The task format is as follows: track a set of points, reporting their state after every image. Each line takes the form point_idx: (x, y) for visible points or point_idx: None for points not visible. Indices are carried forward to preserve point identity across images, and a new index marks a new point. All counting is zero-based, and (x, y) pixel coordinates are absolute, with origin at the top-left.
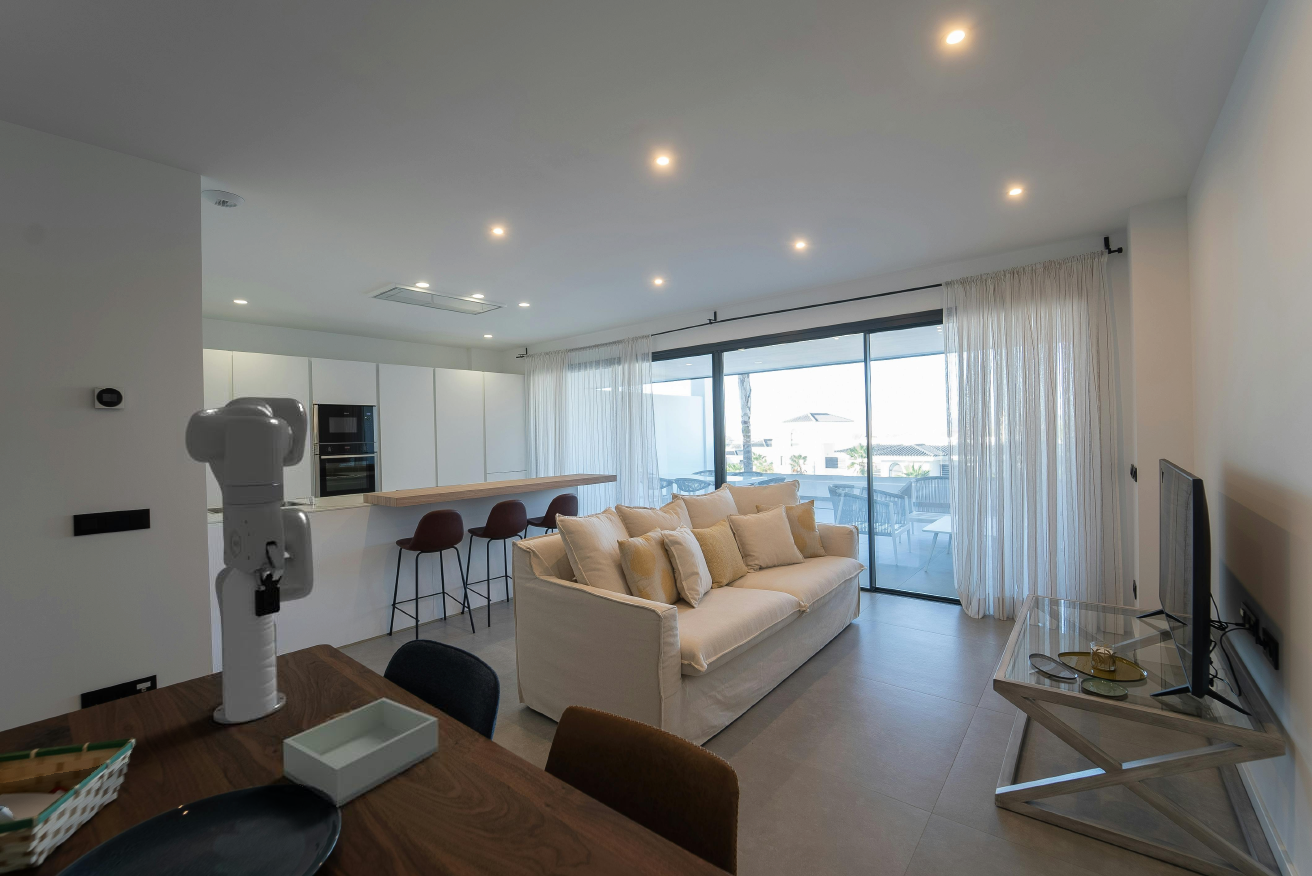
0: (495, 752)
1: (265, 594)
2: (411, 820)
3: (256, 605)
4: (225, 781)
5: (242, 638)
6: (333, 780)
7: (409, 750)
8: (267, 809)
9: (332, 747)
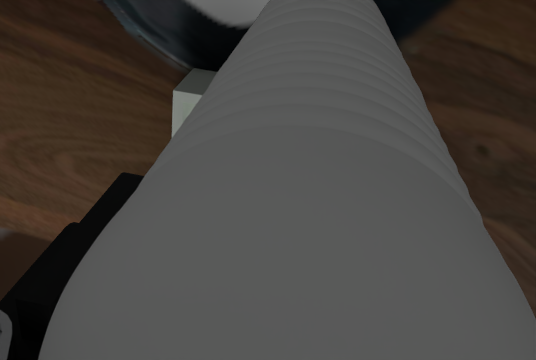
0: None
1: (4, 301)
2: (58, 89)
3: (94, 212)
4: (486, 41)
5: (223, 70)
6: (193, 84)
7: None
8: None
9: None
